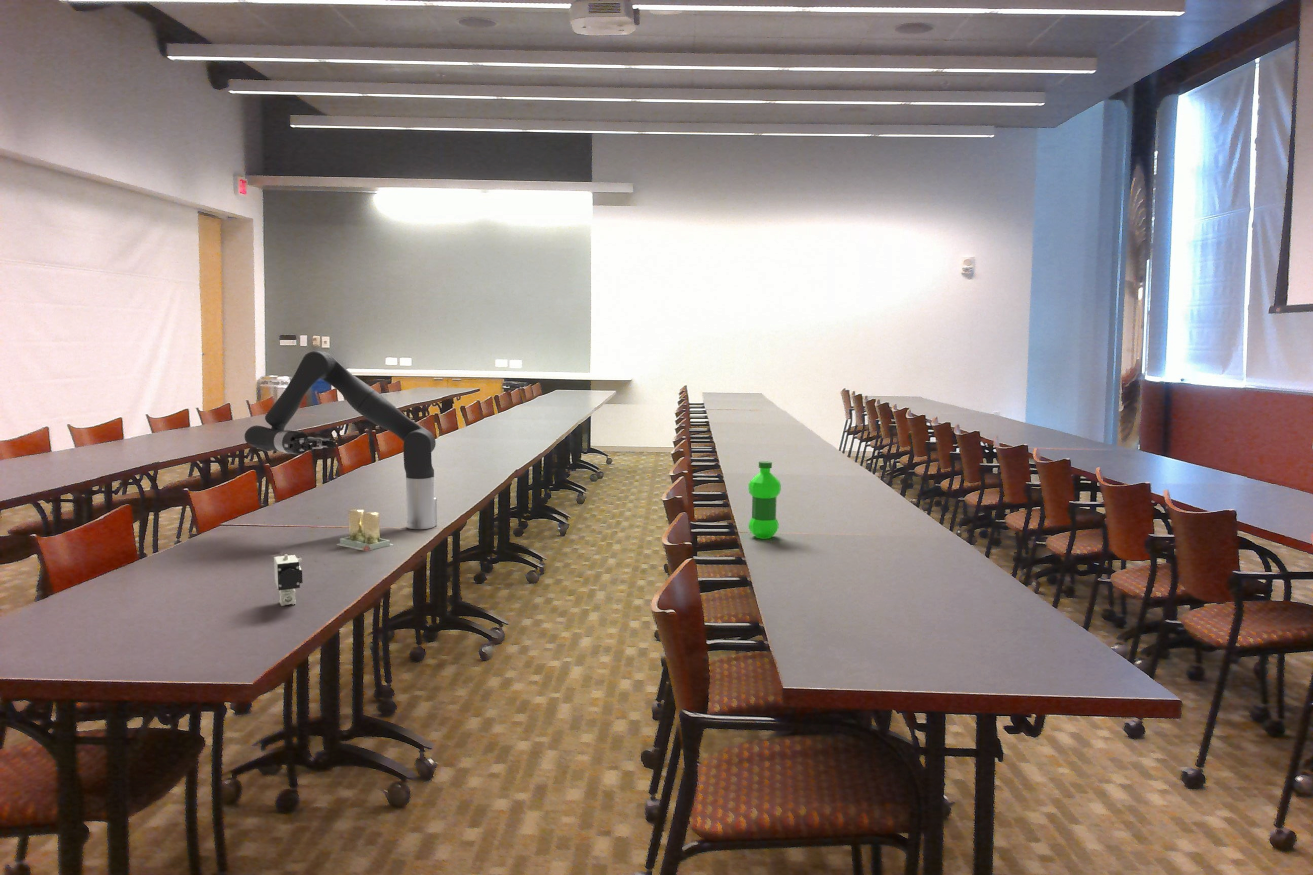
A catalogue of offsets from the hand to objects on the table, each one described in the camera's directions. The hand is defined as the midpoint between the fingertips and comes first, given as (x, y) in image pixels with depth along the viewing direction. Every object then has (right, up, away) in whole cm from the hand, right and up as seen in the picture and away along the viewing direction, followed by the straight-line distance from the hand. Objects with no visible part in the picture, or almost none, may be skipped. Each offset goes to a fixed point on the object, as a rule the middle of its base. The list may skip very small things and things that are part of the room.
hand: (323, 445), depth 269 cm
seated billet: (+19, -30, -11) cm, 37 cm away
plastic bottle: (+140, -31, +14) cm, 144 cm away
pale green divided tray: (+16, -31, -9) cm, 36 cm away
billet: (+13, -30, -7) cm, 33 cm away
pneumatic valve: (+16, -38, -63) cm, 75 cm away
